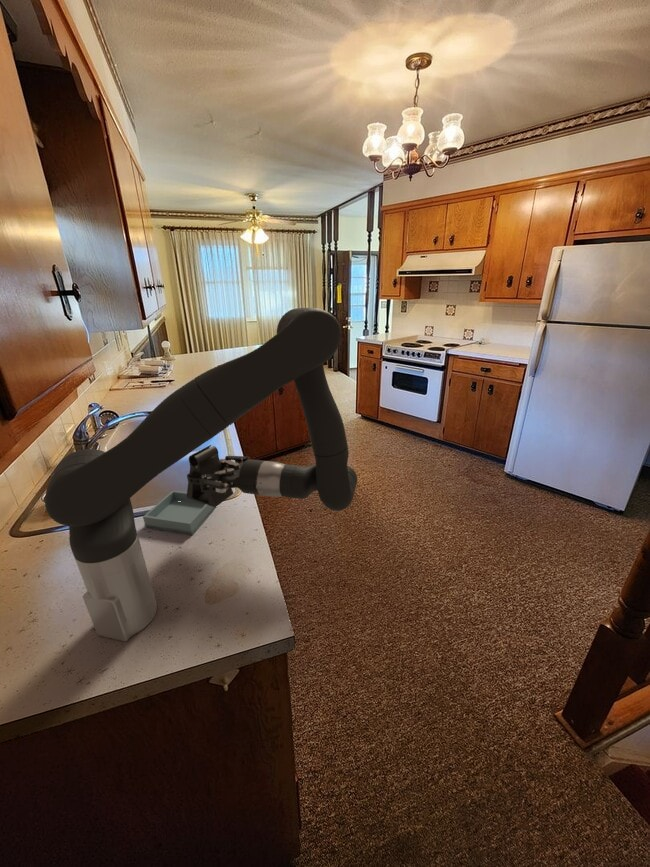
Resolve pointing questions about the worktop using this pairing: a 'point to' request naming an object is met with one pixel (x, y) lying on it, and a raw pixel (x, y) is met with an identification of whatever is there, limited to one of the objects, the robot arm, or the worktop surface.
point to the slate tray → (177, 514)
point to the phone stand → (206, 464)
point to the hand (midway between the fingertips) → (196, 470)
